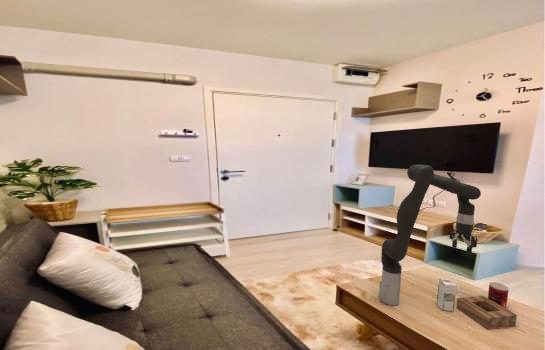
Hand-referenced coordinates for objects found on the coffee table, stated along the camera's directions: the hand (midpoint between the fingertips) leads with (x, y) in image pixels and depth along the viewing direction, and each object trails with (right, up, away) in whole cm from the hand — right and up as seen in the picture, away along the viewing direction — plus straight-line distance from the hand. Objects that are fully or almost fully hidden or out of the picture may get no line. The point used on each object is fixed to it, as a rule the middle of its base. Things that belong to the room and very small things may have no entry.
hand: (461, 250), depth 141 cm
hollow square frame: (+1, -28, -15) cm, 32 cm away
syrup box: (-15, -28, -8) cm, 32 cm away
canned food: (+15, -28, -5) cm, 32 cm away
